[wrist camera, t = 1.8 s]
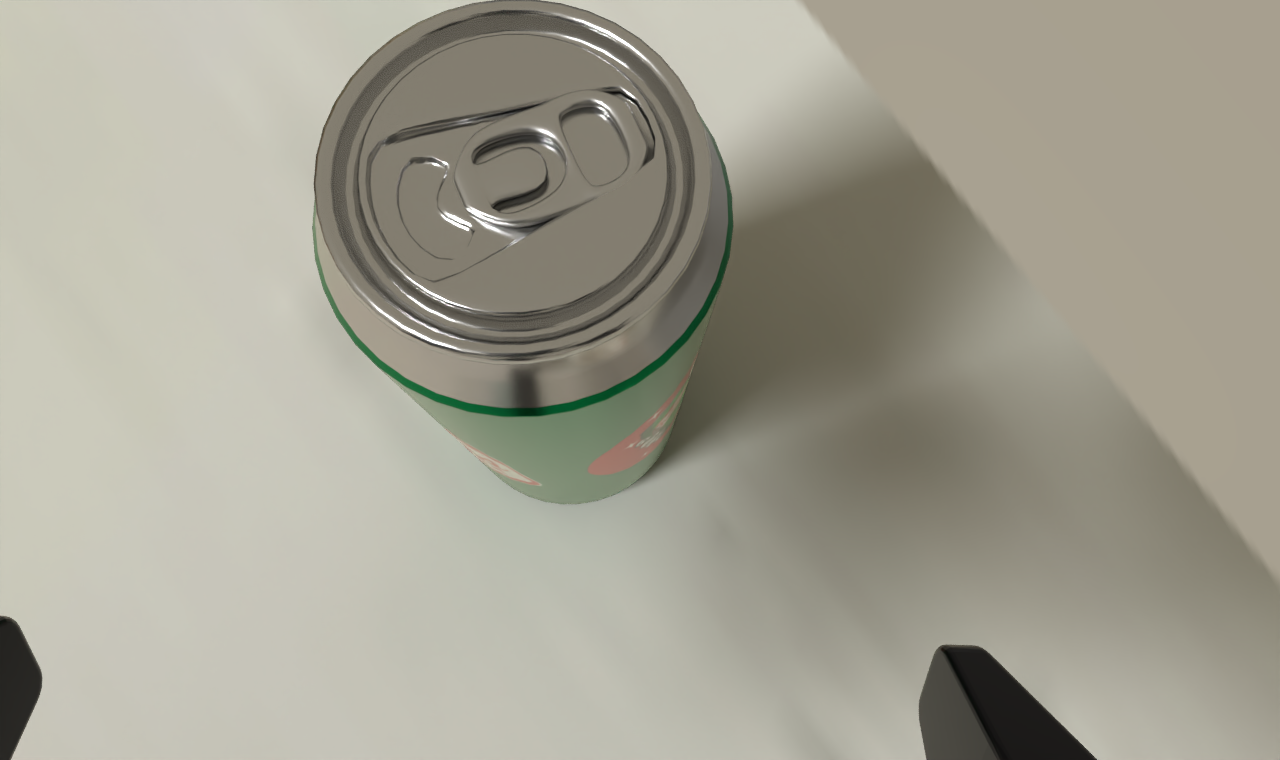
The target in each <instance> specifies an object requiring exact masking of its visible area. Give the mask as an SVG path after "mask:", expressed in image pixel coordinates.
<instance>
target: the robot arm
mask: <svg viewBox="0 0 1280 760" xmlns="http://www.w3.org/2000/svg"><path fill="white" fill-rule="evenodd" d="M41 688H42V672H41V669H40V667H39V665H38V663H37V661H36V659H35V657H34V655H33V653H32V651H31V649H30V647H29V645H28V643H27V640H26V638H25V636H24V634H23V632H22V630H21V628H20V626H19V625H18V623H17V622H16V621H15V620H13V619H12V618H10V617H7V616H0V760H11V758H12V756H13V754H14V751H15V749H16V747H17V745H18V743H19V740H20V738H21V736H22V734H23V732H24V729H25V727H26V725H27V723H28V721H29V718H30V716H31V714H32V712H33V710H34V707H35V705H36V703H37V701H38V698H39V695H40V692H41ZM919 721H920V727H921V732H922V738H923V743H924V749H925V754H926V759H927V760H1097V759H1096V758H1095V757H1094V756H1093V755H1092V754H1091V753H1090V752H1089V751H1088V750H1087V749H1086V748H1085V747H1084V746H1083V745H1082V744H1081V743H1080V742H1079V741H1078V740H1077V739H1076V738H1075V737H1074V736H1073V735H1072V734H1071V733H1070V732H1069V731H1068V730H1067V729H1066V728H1065V727H1064V726H1062V725H1061V724H1060V723H1059V722H1058V721H1057V720H1056V719H1055V718H1054V717H1053V716H1052V715H1051V714H1050V713H1049V712H1048V711H1047V710H1046V709H1045V708H1044V707H1043V706H1042V705H1041V704H1040V703H1039V702H1038V701H1037V700H1036V699H1035V698H1034V697H1033V696H1032V695H1031V694H1030V693H1029V692H1028V691H1027V690H1026V689H1025V688H1024V687H1023V686H1022V685H1021V684H1020V683H1019V682H1018V681H1017V680H1016V679H1015V678H1014V677H1013V676H1012V675H1011V674H1010V673H1009V672H1008V671H1007V670H1006V669H1005V668H1004V667H1003V666H1002V665H1001V664H1000V663H999V662H998V661H997V660H996V659H995V658H994V657H993V656H992V655H990V654H989V653H988V652H987V651H986V650H984V649H983V648H981V647H978V646H973V645H942V646H940V647H939V648H938V649H937V650H936V651H935V654H934V656H933V659H932V662H931V665H930V668H929V671H928V674H927V677H926V680H925V684H924V687H923V690H922V693H921V696H920V701H919Z"/></svg>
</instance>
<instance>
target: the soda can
mask: <svg viewBox="0 0 1280 760" xmlns="http://www.w3.org/2000/svg"><path fill="white" fill-rule="evenodd" d="M314 192H315V202H314V214H313V226H312V230H313V241H314V252H315V260H316V264H317V268H318V271H319V275H320V279H321V283H322V286H323V290H324V292H325V294H326V296H327V298H328V300H329V302H330V305H331V307H332V309H333V311H334V313H335V315H336V317H337V319H338V320H339V322H340V323H341V325H342V326H343V327H344V329H345V330H346V332H347V333H348V335H349V336H350V337H351V339H352V340H353V342H354V343H355V345H356V346H357V347H358V348H359V349H360V350H361V351H362V352H363V353H364V354H365V355H366V356H367V357H368V358H369V359H370V360H371V361H372V362H373V363H374V364H375V365H376V366H377V367H378V368H379V369H380V370H382V371H383V372H384V373H385V374H386V375H387V376H388V377H389V378H390V379H391V380H392V381H394V382H395V383H396V384H397V385H398V386H399V387H400V388H401V389H402V390H403V391H404V392H406V393H407V394H408V395H409V396H410V397H411V398H412V399H413V400H414V401H415V402H416V403H418V404H419V405H420V406H421V407H422V408H423V409H424V410H425V411H426V412H427V413H429V414H430V415H431V416H432V417H433V418H434V419H435V420H436V421H437V422H438V423H439V424H441V425H442V426H443V427H444V428H445V429H446V430H447V431H448V432H449V433H450V434H451V435H453V436H454V437H455V438H456V439H457V440H458V441H459V442H460V443H461V444H462V445H463V446H465V447H466V448H467V449H468V450H469V451H470V452H471V453H472V454H473V455H474V456H475V457H477V458H478V459H479V460H480V461H481V462H482V463H483V464H484V465H485V466H486V467H488V468H489V469H490V470H491V471H492V472H493V473H494V474H495V475H496V476H497V477H498V478H500V479H501V480H502V481H503V482H505V483H506V484H508V485H509V486H510V487H512V488H513V489H515V490H517V491H519V492H521V493H523V494H525V495H527V496H529V497H532V498H535V499H538V500H541V501H545V502H551V503H558V504H582V503H588V502H593V501H598V500H601V499H604V498H607V497H609V496H612V495H614V494H616V493H618V492H620V491H622V490H624V489H626V488H628V487H629V486H630V485H632V484H633V483H634V482H636V481H637V480H638V479H640V478H641V477H642V476H643V475H644V474H645V473H646V472H647V471H648V470H649V469H650V468H651V467H652V466H653V464H654V463H655V462H656V460H657V459H658V457H659V456H660V454H661V453H662V452H663V450H664V448H665V445H666V443H667V441H668V439H669V437H670V435H671V432H672V429H673V426H674V423H675V420H676V417H677V414H678V411H679V408H680V405H681V402H682V399H683V396H684V393H685V390H686V387H687V384H688V381H689V378H690V375H691V372H692V370H693V367H694V364H695V361H696V358H697V355H698V352H699V349H700V346H701V343H702V340H703V337H704V334H705V331H706V328H707V325H708V322H709V319H710V316H711V313H712V310H713V307H714V305H715V302H716V299H717V296H718V293H719V290H720V287H721V283H722V280H723V277H724V273H725V270H726V267H727V263H728V260H729V257H730V248H731V240H732V232H733V211H732V194H731V190H730V185H729V181H728V176H727V172H726V167H725V164H724V162H723V159H722V157H721V154H720V152H719V149H718V147H717V144H716V142H715V139H714V138H713V136H712V134H711V133H710V131H709V129H708V128H707V126H706V124H705V123H704V121H703V120H702V118H701V116H700V115H699V113H698V112H697V110H696V107H695V105H694V102H693V100H692V99H691V97H690V95H689V94H688V92H687V90H686V89H685V87H684V85H683V84H682V82H681V80H680V79H679V77H678V76H677V75H676V74H675V73H674V71H673V70H672V69H671V68H670V67H669V66H668V64H667V63H666V62H665V61H664V60H663V58H662V57H661V56H660V55H659V54H657V53H656V52H655V51H654V50H653V49H652V48H650V47H649V46H648V45H647V44H646V43H645V42H643V41H642V40H641V39H640V38H638V37H637V36H635V35H634V34H632V33H631V32H629V31H627V30H626V29H624V28H623V27H621V26H619V25H618V24H616V23H614V22H612V21H610V20H608V19H605V18H603V17H601V16H599V15H596V14H594V13H592V12H589V11H586V10H583V9H579V8H576V7H572V6H569V5H565V4H561V3H555V2H548V1H540V0H494V1H486V2H479V3H472V4H469V5H465V6H461V7H458V8H454V9H450V10H447V11H444V12H441V13H439V14H437V15H434V16H432V17H430V18H427V19H425V20H423V21H420V22H418V23H416V24H415V25H413V26H411V27H410V28H408V29H406V30H405V31H403V32H401V33H400V34H398V35H396V36H395V37H393V38H392V39H391V40H389V41H388V42H387V43H386V44H385V45H383V46H382V47H381V48H380V49H378V50H377V51H376V52H375V53H374V54H372V55H371V56H370V57H369V58H368V59H367V60H366V61H365V63H364V64H363V65H362V66H361V67H360V68H359V69H358V70H357V71H356V73H355V74H354V75H353V76H352V77H351V78H350V80H349V81H348V83H347V84H346V86H345V87H344V89H343V90H342V92H341V93H340V95H339V97H338V98H337V100H336V101H335V103H334V105H333V107H332V110H331V112H330V114H329V116H328V119H327V121H326V123H325V125H324V128H323V131H322V135H321V139H320V143H319V147H318V150H317V154H316V164H315V176H314Z"/></svg>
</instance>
